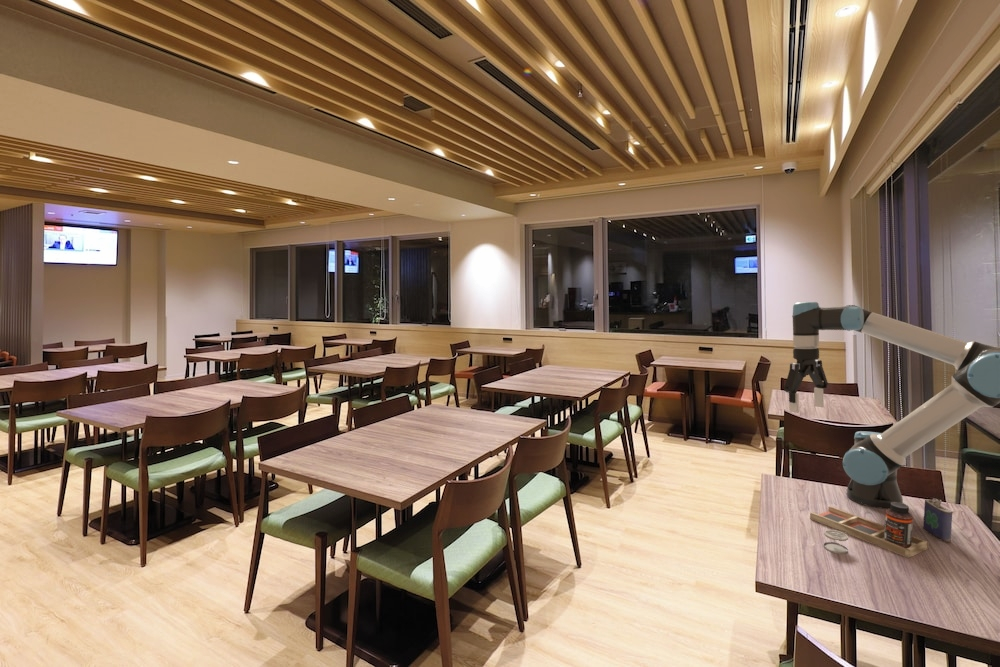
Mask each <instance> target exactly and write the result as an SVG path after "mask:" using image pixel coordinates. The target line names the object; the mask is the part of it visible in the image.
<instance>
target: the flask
mask: <svg viewBox="0 0 1000 667" xmlns="http://www.w3.org/2000/svg"><path fill="white" fill-rule="evenodd" d="M942 502H943V501H942V499H937V498H932V499H928V498H927V499H924V508H923V509H924V511H923V513H924V514H923V525H922V529H923V530H924V531H925V532H926V533H928V534H929V535H931V536H932V537H934V538H936V539H938V540H939V541H941V542H944V543H951V542H952V524H953V514H954V513H953V511H952V510H951V509H948V508H946V507H944V506H943V505H942Z"/></svg>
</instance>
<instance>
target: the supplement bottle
mask: <svg viewBox="0 0 1000 667" xmlns="http://www.w3.org/2000/svg"><path fill="white" fill-rule="evenodd" d="M909 510H910V508H909V505H908V504H905V503H903V502H902V503H899V502H892V503H891V506H890V509H886V511H885V517H884V518H885V520H884V522H885V523H884V526H885V535H884V537H885V540H886V541H888V542H891V543H893V544H896V545H899V546H901V547H904V548H909V547H911V543H912V536H913V523H914V522H913V520H914V519H913V518H914V517H913V515H912V514H911V513H910V512H909Z"/></svg>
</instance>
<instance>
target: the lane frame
mask: <svg viewBox="0 0 1000 667" xmlns="http://www.w3.org/2000/svg"><path fill="white" fill-rule="evenodd" d="M827 507H828V508H827V509H828V511H830V512H832V513H835V514H838V515H840V516H843V517H846V518H848V519H846V520H843V521H840V522H837V521H834V520H831V519H829V518H826V517H824V516H821V515H819V513H815V512H813V511H810V512H809V514H810V515H809V519H810V520H812V521H815V522H817V523H820V524H822V525H824V526H825V525H826V526H827V527H830V528H833V529H834V530H836V531H840V532H843V533H845V534H846V535H850V536H853V537H855V538H858V539H860V540H862V541H865V542H868V543H870V544H873V545H874V546H877V547H880V548H883V549H885V550H888V551H890V552H892V553H895V554H898V555H900V556H901V557H902V556H903V557H905V558H908V559H910V558H912V557H913V556H916V555H918V554H920V553H922V552H924V551H926V550H929V546H930V544H929V543H930V541H927V540H925V539H922V538H920V537H918V536H914V535H912V542H913V543H915V544H916V545H914V546H912V547H909V548H907V549H906V548H904V547H901V546H899V545H896V544H893V543H891V542H888V541H886V540H883V539H881V538H883V537H884V535H885V524H881V523H879V522H875V521H873V520H870V519H868V518H865V517H862V516H859V515H857V514H854V513H851V512H848V511H845V510H843V509H840V508H837V507H835V506H831V505H828V506H827ZM857 522H859V523H862V524H864V525H867V526H870V527H872V528H875V529H878V530H880V531H879V532H876V533H874V534H871V535H870V534H868V533H865V532H862V531H860V530H857V529H855V528H852V527H850V526H849V525H852V524H854V523H857Z"/></svg>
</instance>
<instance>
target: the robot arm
mask: <svg viewBox="0 0 1000 667" xmlns="http://www.w3.org/2000/svg"><path fill="white" fill-rule="evenodd" d="M791 317H792V335H793V336H792V343H793V344H792V346H793V347H794V348H792V355H793V356H792V358H793V359H794V360H796V362H790V365H789V371H788V375H787V377H786V381H785V385H784V387H783V388H784V389H783V390H784V392H785V393H788V401H789V404H788V405H789V406H788V407H789V410H788V411H789V412H790V413H795V414H798V413H800V412H799V411H800V410H799V409H800V408H799V407H800V405H799V393H798V390H799V389H800V386H801V384H802V382H803V380H804V378H806V376H809V377H810V379H811V381H812V382H813V384H814V386H815V387H814V388H813V394H814V395H813V397H814V398H813V401H814V402H813V404H814V407H817V408H824V403H825V402H824V389H827V388H828V385H829V382H828V379H827V377H826V376H827V375H826V373H825V370H824V368H823V361H822V360H821V359H820V349H819V348H818V347H820V331H848V332H850V331H856V332H858V333H861V334H865V335H867V336H869V337H873V338H875V339H879V340H881V341H884V342H887V343H889V344H893V345H896V346H898V347H900V348H904V349H907V350H909V351H912V352H915V353H918V354H921V355H924V356H927V357H930V358H932V359H935V360H937V361H939V362H940V361H941V362H943V363H947V364H948V365H952V366H954V368H955V370H956V371H957V372H955V373H954V374H953V375H951V383H950V385H948V386H947V387H945V388H944V389H942V390H941V391H940V392H938V393H937V394H935V395H934V396H933V397H931V398H930V399H928V400H927V401H926V402H924V403H922V405H920V406H918V407H917V408H915V409H914V410H912V411H911V412H910V413H909V414H908V415H906V416H904V417H903V418H901V419H900V420H899V421H897V422H896V423H894V424H893V425H891V427H889V428H887V429H886V430H884V431H883V432H877V431H876V432H875V431H864V430H863V431H862V430H860V431H856V432H855V433H854V437H853V439H854V445H852V446H851V448H849V450H847V451H846V452H845V454H844V455H843V459H842V467H843V470H844V472H845V473H846V475H847V476H848V477H849V478H850V481H849V483H848V485H847V489H846V496H847V498H849V499H850V500H852V501H854V502H856V503H858V504H861V505H864V506H867V507H871V508H877V509H878V508H879V509H886V510H888V509H890V506H891V503H892V502H899V503H903V501H904V500H903V495H902V492H901V490H900V487H899V485H898V481H897V480H898V479H897V478H898V477H897V476H898V475H897V474H898V470H899V469H901V468H902V467H904V466H905V465H906V463H907V460H906V459H907V457H908V456H910V455H911V454H912V453H914V452H915V451H917V450H920V448H922V447H923V446H924V445H926V444H927V443H929V442H930V441H932V440H934V439H935V438H936V437H938V436H939V435H941V434H943V433H945V431H947V430H949V429H951V428H952V427H953V426H955V425H956V424H958V423H960V422H961V421H962V420H964V419H965V418H967V417H969V416H970V415H972V414H973V413H975V412H976V411H978V410H979V409H981V408H991V409H992V408H994V407H995V406H997V405H999V404H1000V347H997V346H993V345H989V344H984V343H981V342H978V341H975V340H972V341H969V342H967V341H963V340H960V339H957V338H954V337H951V336H947V335H945V334H941V333H939V332H935V331H933V330H929V329H925V328H923V327H920V326H916V325H914V324H911V323H907V322H904V321H901V320H898V319H895V318H893V317H889V316H886V315H882V314H879V313H876V312H873V311H870V310H867V309H863V308H862V307H861V306H859V305H855V304H854V305H853V304H848V305H845V306H832V307H821V306H820V304H819V303H818V301H806V302H805V301H804V302H802V301H799V302H794V304H793V306H792V316H791Z"/></svg>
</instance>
